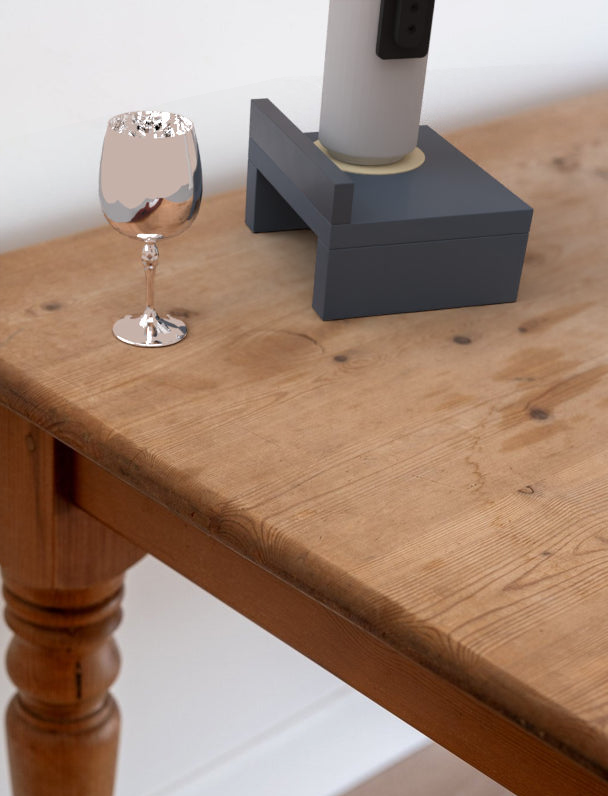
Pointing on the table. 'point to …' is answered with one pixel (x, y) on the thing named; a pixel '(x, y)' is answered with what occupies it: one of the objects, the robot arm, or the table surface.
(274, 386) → the table surface
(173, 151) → the wineglass
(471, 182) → the dark grey stand
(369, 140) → the beverage can
